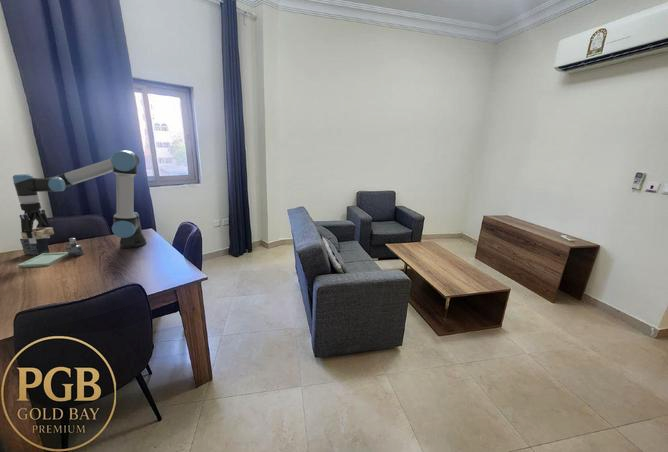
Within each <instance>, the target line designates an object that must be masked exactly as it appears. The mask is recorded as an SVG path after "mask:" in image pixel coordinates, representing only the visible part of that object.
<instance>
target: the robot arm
mask: <svg viewBox="0 0 668 452" xmlns="http://www.w3.org/2000/svg"><path fill="white" fill-rule="evenodd" d="M139 164H140V158H139V156H138V155H137V154H136V153H135V152H133V151H131V150H126V149H125V150H122V149H121V150H117V151H115V152H114V153H113V154H112V155H111V156H110V158H108V159H106V160H105V159H104V160H103V161H98V162H96V163H92V164H89V165H85V166H84V167H80V168H77V169H73V170H71V171H68V172H65V173H61V174H58V175H55V176H51V177H46V178H45V177H40V178H39V177H34V176H33V174H29V173H28V174H22V173H21V174H14V175H13V176H12V180H13V185H14V188H15V191H16V195H17V198H18V201H19V203H20V204H19V207H20V209H21V210H22V211H23V212H24V213H23V214H19V218H20V229H21V232H22V233H26V234H27V237H28V239H29V243H30V244H36V243H37V242H36V239H35V235H34V232H32V229H33V228H34V221H35V220H36V221H37V223H38V224H39V225H40V227H41V228H51V227H50V225H51V223H50V220H49V218H48V216H47V214H46V210H45V209H41V208H42V206H41V202H40V198H39V194H38V192H41V193H42V192H45V193H46V192H55V193H56V192H64V191H65V190H66V188H68V187H71V186H73V185H76V184H79V183H82V182H85V181H88V180H91V179H94V178H97V177H101V176H104V175H107V174H109V173H110V174H111V173H113V174H115V177H116V184H115V185H116V186H115V187H116V188H115V189H116V213H115V214H114V215H113V224H112V226H111V230H112V234H114V235H115V236H116V237H118V238H120V239H119V247H120V248H122V249H132V248H131V247H134V248H138V247H137V246H139V247H141V246H140V245H142V246H144V245H143V244H145V243H146V242H147V239H146V237H145V236H144V234H143V232H142V226H141V219H140V215H139V213H138V212H137V211H135V210H134V206H135V203H134V201H135V199H134V196H135V192H134V189H135V188H134V186H135V177H136V176H137V174H138V166H139ZM45 238H46V239H50V238H51V235H50V236H47V237H45ZM146 244H147V243H146ZM146 244H145V245H146Z"/></svg>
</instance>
